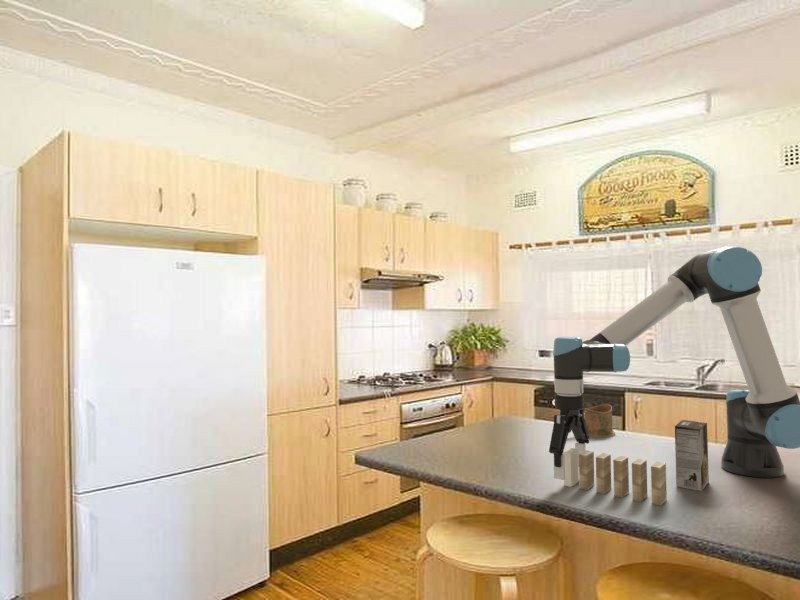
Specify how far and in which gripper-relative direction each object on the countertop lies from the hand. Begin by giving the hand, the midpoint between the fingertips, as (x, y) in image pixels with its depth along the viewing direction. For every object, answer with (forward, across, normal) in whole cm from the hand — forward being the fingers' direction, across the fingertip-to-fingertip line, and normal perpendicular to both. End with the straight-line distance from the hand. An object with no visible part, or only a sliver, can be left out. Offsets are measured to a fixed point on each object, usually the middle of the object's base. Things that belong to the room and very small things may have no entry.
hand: (570, 472), depth 148 cm
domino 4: (+3, 0, +14) cm, 14 cm away
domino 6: (+3, 0, +22) cm, 23 cm away
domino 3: (+3, 0, +9) cm, 9 cm away
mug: (+3, -59, -18) cm, 62 cm away
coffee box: (+3, -19, +26) cm, 32 cm away
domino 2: (+3, 0, +4) cm, 5 cm away
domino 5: (+3, 0, +18) cm, 18 cm away
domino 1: (+3, 0, 0) cm, 3 cm away
